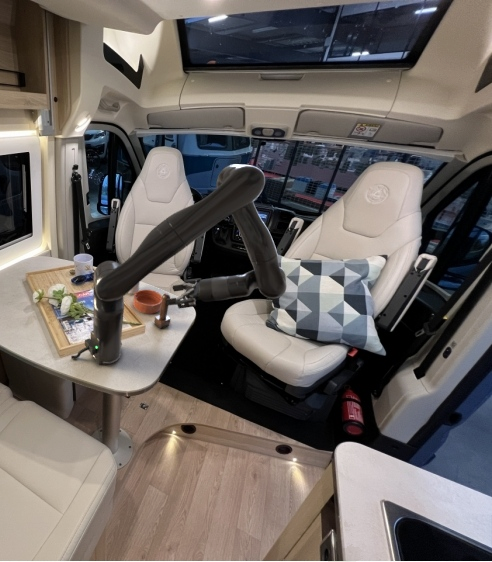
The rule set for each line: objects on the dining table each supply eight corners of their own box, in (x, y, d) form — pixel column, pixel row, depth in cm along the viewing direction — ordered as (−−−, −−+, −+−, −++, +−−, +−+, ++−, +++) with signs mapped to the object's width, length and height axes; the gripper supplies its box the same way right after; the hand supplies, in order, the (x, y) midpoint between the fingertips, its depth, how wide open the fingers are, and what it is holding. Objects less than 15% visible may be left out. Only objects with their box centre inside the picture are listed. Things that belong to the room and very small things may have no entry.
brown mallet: (160, 329, 110) (165, 298, 103) (153, 324, 113) (158, 293, 106) (169, 325, 113) (175, 294, 106) (163, 320, 115) (168, 290, 108)
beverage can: (138, 288, 136) (141, 265, 130) (138, 295, 130) (140, 272, 124) (125, 287, 136) (127, 264, 130) (124, 294, 131) (126, 270, 125)
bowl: (144, 317, 116) (145, 308, 114) (127, 302, 125) (128, 293, 123) (167, 309, 122) (168, 300, 120) (149, 295, 131) (150, 287, 129)
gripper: (215, 268, 98) (171, 276, 107) (209, 291, 87) (160, 298, 96) (221, 286, 101) (178, 292, 110) (216, 311, 90) (168, 315, 99)
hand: (170, 295), depth 103 cm, fingers open, 8 cm apart
